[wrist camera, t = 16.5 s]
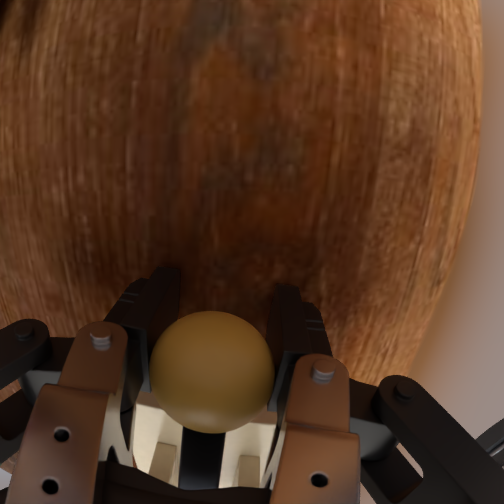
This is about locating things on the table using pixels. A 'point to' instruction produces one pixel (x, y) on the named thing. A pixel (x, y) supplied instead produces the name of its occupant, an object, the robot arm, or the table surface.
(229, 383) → the ball knob lever
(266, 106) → the table surface
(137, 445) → the handle bracket
